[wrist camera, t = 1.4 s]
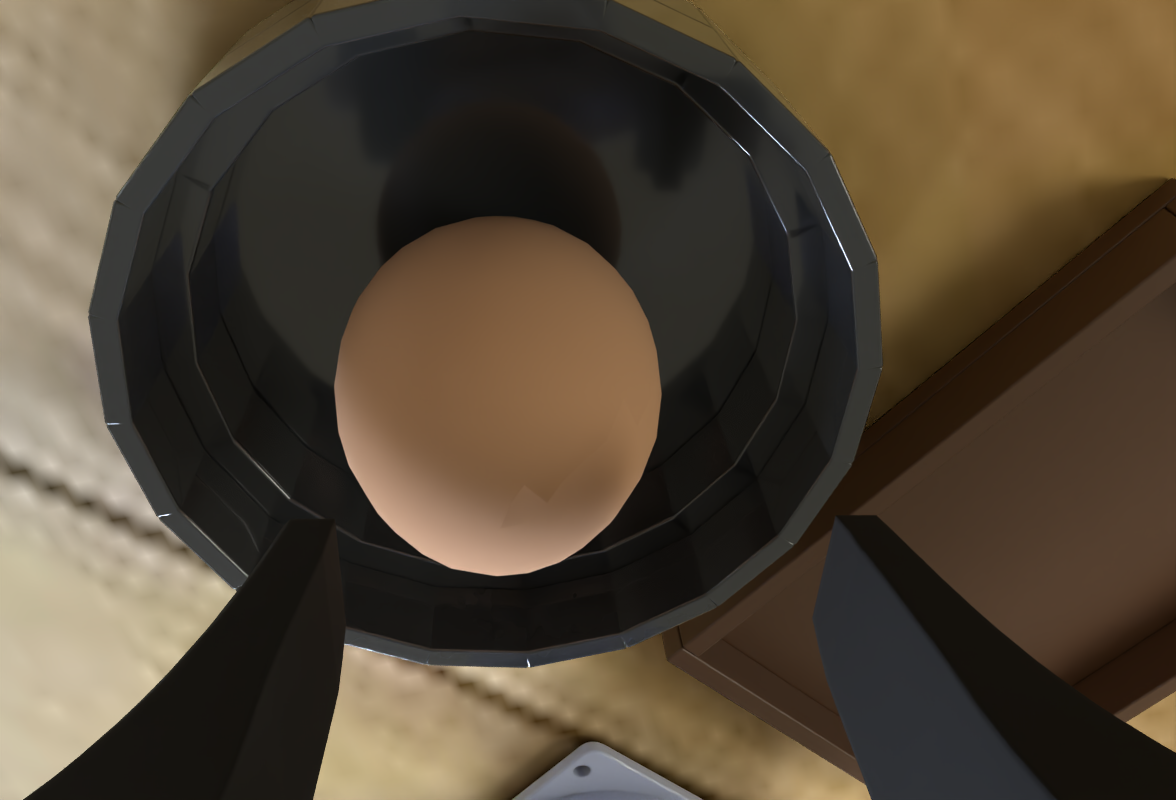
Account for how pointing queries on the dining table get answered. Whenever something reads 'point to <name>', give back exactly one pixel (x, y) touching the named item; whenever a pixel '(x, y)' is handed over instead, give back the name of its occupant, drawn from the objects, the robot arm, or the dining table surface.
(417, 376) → the egg
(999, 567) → the tray
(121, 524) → the dining table surface
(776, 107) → the dark grey mixing bowl
